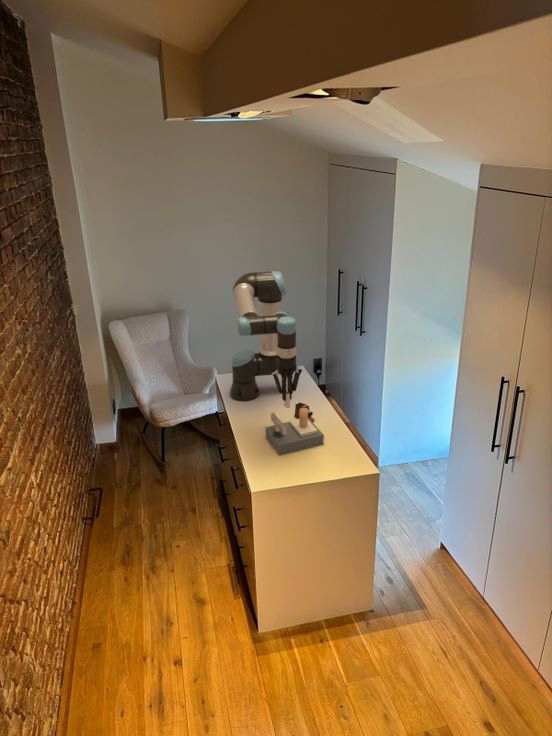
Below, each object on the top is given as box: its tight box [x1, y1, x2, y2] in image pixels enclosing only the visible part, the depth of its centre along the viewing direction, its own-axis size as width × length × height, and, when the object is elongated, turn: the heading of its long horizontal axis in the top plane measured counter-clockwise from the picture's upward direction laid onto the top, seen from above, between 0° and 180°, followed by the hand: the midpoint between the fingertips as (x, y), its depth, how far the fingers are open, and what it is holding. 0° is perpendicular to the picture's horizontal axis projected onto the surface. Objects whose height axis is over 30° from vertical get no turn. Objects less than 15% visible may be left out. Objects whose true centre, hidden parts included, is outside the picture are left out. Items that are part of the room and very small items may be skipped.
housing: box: [264, 418, 325, 456], centre depth 241 cm, size 16×21×5 cm
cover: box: [289, 408, 318, 437], centre depth 239 cm, size 12×8×10 cm, turn 22°
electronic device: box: [294, 402, 315, 422], centre depth 257 cm, size 4×10×8 cm, turn 44°
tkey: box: [270, 412, 286, 435], centre depth 235 cm, size 2×14×6 cm, turn 22°
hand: (286, 406), depth 229 cm, fingers closed
